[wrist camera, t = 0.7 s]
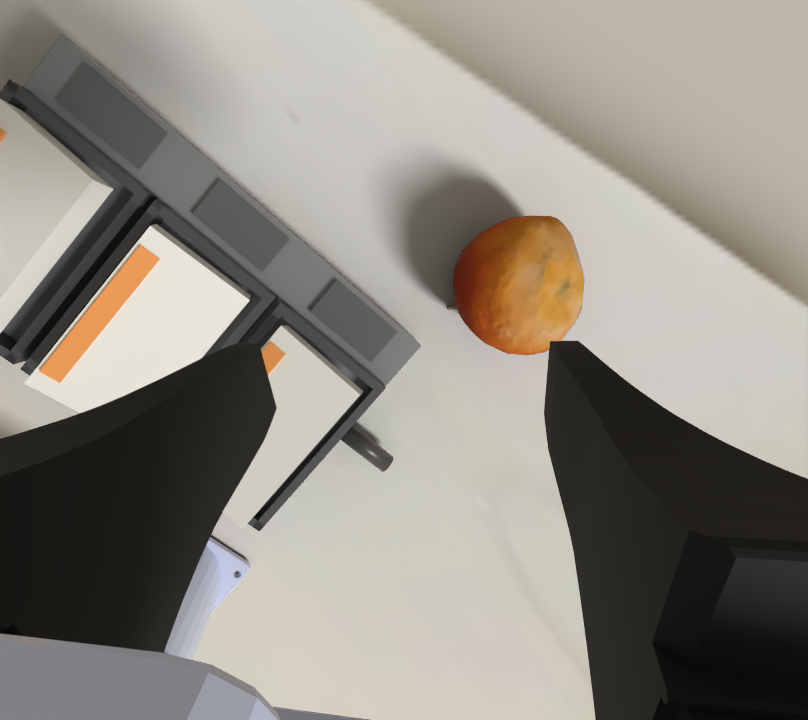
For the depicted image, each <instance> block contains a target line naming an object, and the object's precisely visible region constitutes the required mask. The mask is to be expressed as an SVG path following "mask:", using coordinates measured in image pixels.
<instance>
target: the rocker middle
mask: <svg viewBox="0 0 808 720" xmlns="http://www.w3.org/2000/svg"><path fill="white" fill-rule="evenodd" d="M250 297H251V295H250V294H249V293H247V292H246V291H245V290H243V289H242V288H241V287H239V286H238V285H237V284H236V283H234V282H233V281H232V280H230V279H229V278H228V277H226V276H225V275H224V274H222V273H221V272H220V271H218V270H217V269H216V268H214V267H213V266H212V265H210V264H209V263H208V262H206V261H205V260H204V259H202V258H201V257H200V256H198V255H197V254H196V253H194V252H193V251H192V250H190V249H189V248H188V247H186V246H185V245H184V244H182V243H181V242H180V241H178V240H177V239H176V238H175V237H173V236H172V235H171V234H169V233H168V232H167V231H165V230H164V229H163V228H161V227H160V226H159V225H157V224H155V225H151V226H149V228H148V229H147V230H146V231H145V233H144V234H143V235H142V236H141V238H140V239H139V240H138V241H137V243H136V244H135V245H134V246H133V248H132V249H131V250H130V251H129V253H128V254H127V255H126V256H125V258H124V259H123V260H122V261H121V263H120V264H119V265H118V266H117V268H116V269H115V270H114V271H113V273H112V274H111V275H110V276H109V278H108V279H107V280H106V282H105V283H104V284H103V285H102V287H101V288H100V289H99V290H98V292H97V293H96V294H95V295H94V297H93V298H92V299H91V300H90V302H89V303H88V304H87V305H86V307H85V308H84V309H83V310H82V312H81V313H80V314H79V315H78V317H77V318H76V319H75V320H74V322H73V323H72V324H71V325H70V327H69V328H68V329H67V330H66V332H65V333H64V334H63V335H62V337H61V338H60V339H59V340H58V342H57V343H56V344H55V345H54V347H53V348H52V349H51V350H50V352H49V353H48V354H47V355H46V357H45V358H44V359H43V360H42V362H41V363H40V364H39V365H38V367H37V368H36V369H35V370H34V372H33V373H32V374H31V375H30V377H29V378H28V379H27V380H26V382H25V383H24V384H26V385H28V386H30V387H32V388H34V389H36V390H38V391H40V392H41V393H43V394H45V395H47V396H49V397H51V398H53V399H55V400H56V401H58V402H60V403H62V404H64V405H66V406H68V407H70V408H72V409H73V410H75V411H77V412H79V413H82V412H85V411H88V410H90V409H93V408H96V407H98V406H101V405H103V404H106V403H108V402H111V401H113V400H115V399H118V398H120V397H122V396H125V395H127V394H129V393H131V392H133V391H135V390H137V389H140V388H142V387H144V386H146V385H148V384H150V383H152V382H155V381H157V380H159V379H161V378H163V377H165V376H167V375H169V374H171V373H173V372H175V371H177V370H179V369H181V368H183V367H185V366H187V365H189V364H191V363H193V362H195V361H197V360H199V359H201V358H202V357H203V356H204V355H205V354H206V352H207V351H208V350H209V349H210V348H211V346H212V345H213V344H214V343H215V342H216V340H217V339H218V338H219V337H220V336H221V334H222V333H223V332H224V331H225V330H226V328H227V327H228V326H229V325H230V324H231V322H232V321H233V320H234V319H235V318H236V316H237V315H238V314H239V313H240V312H241V310H242V309H243V308H244V307H245V306H246V304H247V303H248V302H249V301H250Z"/></svg>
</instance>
